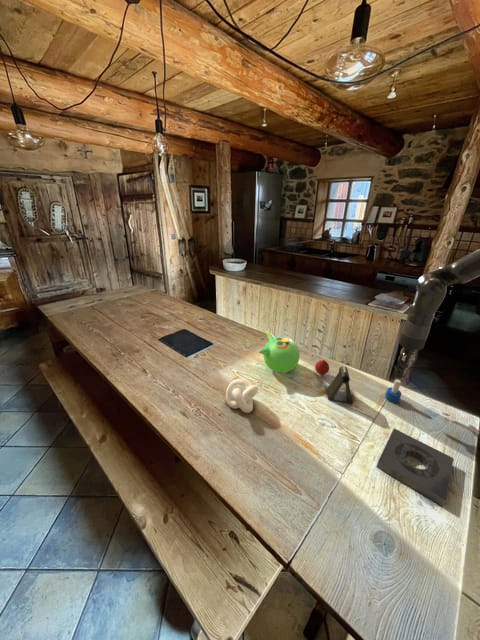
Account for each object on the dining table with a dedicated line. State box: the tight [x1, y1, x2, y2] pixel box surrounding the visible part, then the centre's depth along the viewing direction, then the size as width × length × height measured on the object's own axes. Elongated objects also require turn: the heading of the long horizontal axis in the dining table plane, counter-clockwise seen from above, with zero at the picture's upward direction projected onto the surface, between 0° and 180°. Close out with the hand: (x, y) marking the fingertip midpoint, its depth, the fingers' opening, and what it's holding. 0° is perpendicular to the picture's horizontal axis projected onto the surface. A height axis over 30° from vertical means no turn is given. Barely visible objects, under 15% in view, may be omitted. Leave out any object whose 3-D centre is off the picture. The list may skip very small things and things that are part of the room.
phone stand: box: [326, 366, 354, 404], centre depth 101 cm, size 9×6×12 cm, turn 78°
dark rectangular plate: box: [375, 428, 454, 507], centre depth 77 cm, size 16×16×2 cm
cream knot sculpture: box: [225, 378, 259, 414], centre depth 97 cm, size 11×12×9 cm
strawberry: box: [314, 359, 330, 376], centre depth 114 cm, size 6×6×8 cm
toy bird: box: [258, 330, 301, 373], centre depth 117 cm, size 18×17×15 cm
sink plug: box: [384, 378, 402, 404], centre depth 101 cm, size 5×5×8 cm
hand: (400, 372), depth 97 cm, fingers open, 8 cm apart
